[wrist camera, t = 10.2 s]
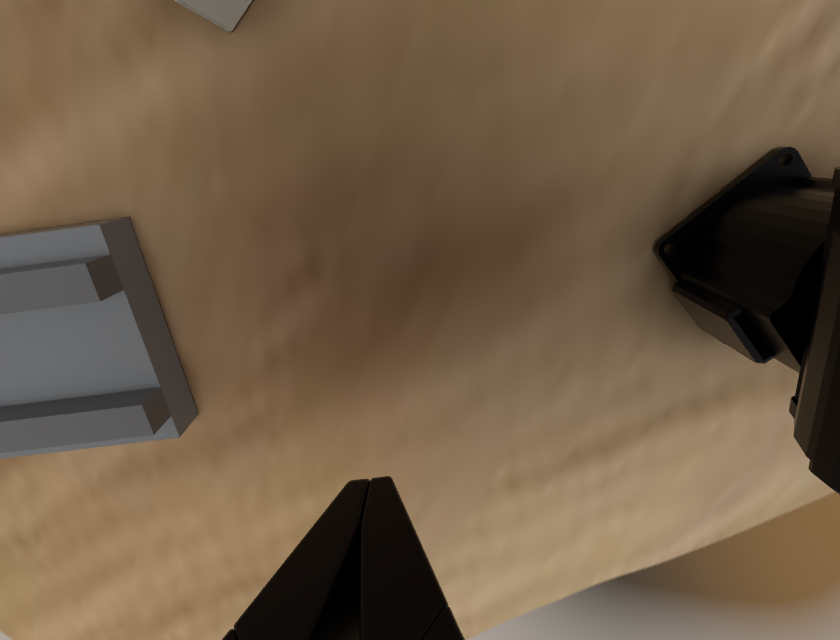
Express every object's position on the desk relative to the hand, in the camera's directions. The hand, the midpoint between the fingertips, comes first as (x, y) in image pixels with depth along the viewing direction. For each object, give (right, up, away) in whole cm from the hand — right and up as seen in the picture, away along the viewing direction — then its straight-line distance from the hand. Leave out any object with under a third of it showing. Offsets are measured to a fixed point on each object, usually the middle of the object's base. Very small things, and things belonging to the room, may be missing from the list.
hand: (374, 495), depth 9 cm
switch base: (-19, +2, +13) cm, 23 cm away
